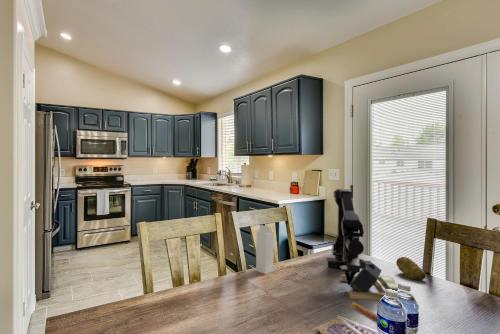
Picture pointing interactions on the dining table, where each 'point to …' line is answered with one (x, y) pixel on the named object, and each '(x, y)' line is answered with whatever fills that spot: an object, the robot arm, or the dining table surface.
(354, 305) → the chocolate bar
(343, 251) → the robot arm
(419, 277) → the potato
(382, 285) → the light tan flat part
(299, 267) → the dining table surface
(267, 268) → the milk
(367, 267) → the small box
